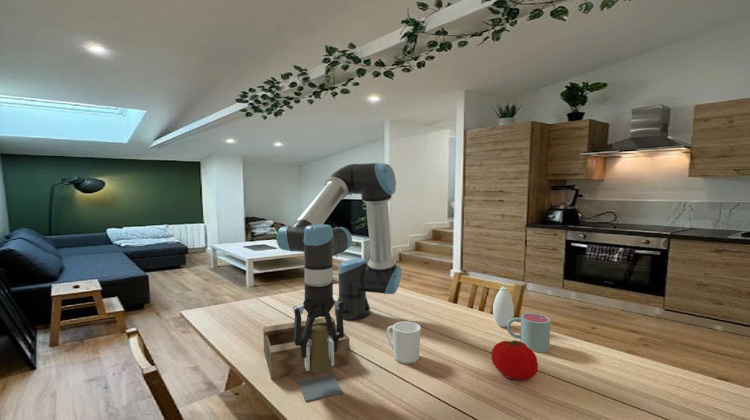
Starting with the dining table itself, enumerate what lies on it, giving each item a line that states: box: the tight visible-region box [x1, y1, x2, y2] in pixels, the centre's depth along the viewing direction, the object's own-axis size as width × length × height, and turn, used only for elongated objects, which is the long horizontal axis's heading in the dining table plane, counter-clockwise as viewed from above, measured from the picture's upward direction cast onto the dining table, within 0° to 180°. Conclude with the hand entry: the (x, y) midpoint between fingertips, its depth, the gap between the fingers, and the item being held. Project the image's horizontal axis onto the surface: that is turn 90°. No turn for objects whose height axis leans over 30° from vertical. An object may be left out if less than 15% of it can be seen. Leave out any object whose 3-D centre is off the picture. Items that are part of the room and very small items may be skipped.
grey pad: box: [297, 373, 344, 403], centre depth 97 cm, size 10×10×1 cm
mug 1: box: [386, 320, 422, 365], centre depth 114 cm, size 11×9×10 cm
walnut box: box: [262, 316, 350, 381], centre depth 114 cm, size 24×20×8 cm
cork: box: [310, 325, 331, 373], centre depth 96 cm, size 6×6×11 cm
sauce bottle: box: [492, 281, 515, 328], centre depth 139 cm, size 8×8×18 cm
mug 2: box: [506, 312, 551, 353], centre depth 123 cm, size 14×9×10 cm
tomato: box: [490, 339, 539, 381], centre depth 103 cm, size 11×13×10 cm
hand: (319, 365), depth 97 cm, fingers closed on cork, 6 cm apart
